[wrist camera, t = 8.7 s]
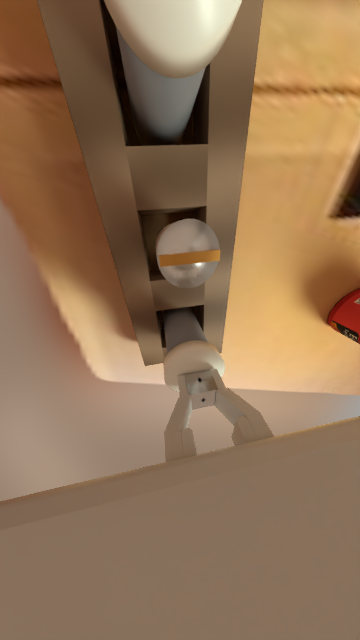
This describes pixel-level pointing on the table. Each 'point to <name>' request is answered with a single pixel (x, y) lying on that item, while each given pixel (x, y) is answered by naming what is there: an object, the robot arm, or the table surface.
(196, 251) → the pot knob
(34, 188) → the table surface
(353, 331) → the canned food
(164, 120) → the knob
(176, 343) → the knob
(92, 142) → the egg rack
